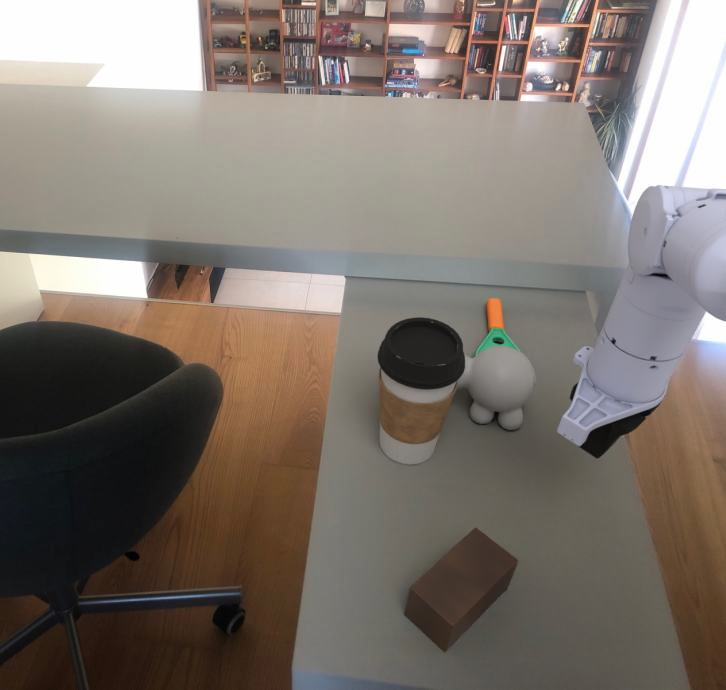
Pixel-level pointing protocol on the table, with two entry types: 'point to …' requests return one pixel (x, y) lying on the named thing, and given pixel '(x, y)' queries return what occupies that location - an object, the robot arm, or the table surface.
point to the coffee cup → (416, 386)
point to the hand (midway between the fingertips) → (591, 448)
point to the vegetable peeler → (495, 327)
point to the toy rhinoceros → (498, 385)
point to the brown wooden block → (459, 588)
